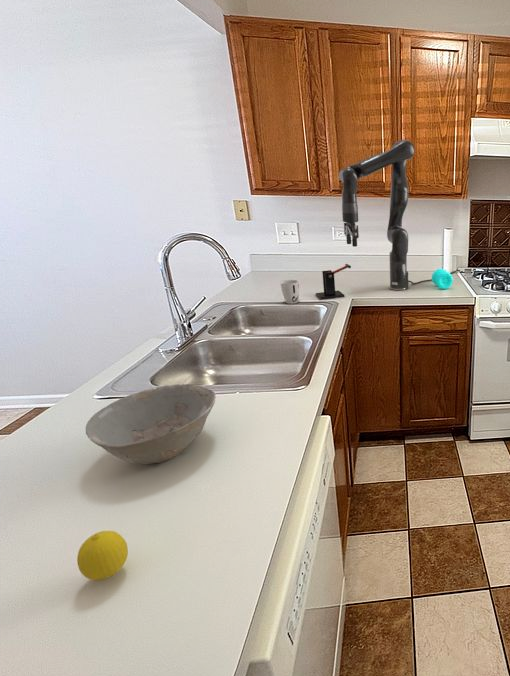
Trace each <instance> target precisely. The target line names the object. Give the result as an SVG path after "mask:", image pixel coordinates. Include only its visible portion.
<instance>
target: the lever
mask: <svg viewBox="0 0 510 676" xmlns="http://www.w3.org/2000/svg"><path fill="white" fill-rule="evenodd" d="M346 269H352V265H350V264H348V263H345V264H344V266H342V267H340V268H338V269H335V270H333V271H332V272H334V275H335V274H337V273H340V272H341V271H343V270H346Z"/></svg>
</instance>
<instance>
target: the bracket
mask: <svg viewBox="0 0 510 676" xmlns="http://www.w3.org/2000/svg"><path fill="white" fill-rule="evenodd" d="M321 272H322V285H323V291H322V292H321V291H320V292H315V296H316V298H318V299H319V300H320V301H324V300H331V299H340V298H345V294H344V293H343V292H341V291H340V290H336V281H335V280H336V279H335V274H334V272H333V271H332V269H331V270H330V269H329V270H322V271H321Z"/></svg>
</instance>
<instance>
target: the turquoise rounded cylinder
mask: <svg viewBox="0 0 510 676" xmlns="http://www.w3.org/2000/svg"><path fill="white" fill-rule="evenodd" d="M450 273H451V272H448V271H447V270H446V269H444V268H437V269H436V270H434V271H433V273H432V275H431V279H432V281H431V282H432V283H433V284H434V285H435V286H437V288H439V289H441V290H447V289H449V288H450V287H451V286H452V285H453V282H454V277H453V275H452V273H451V274H450Z"/></svg>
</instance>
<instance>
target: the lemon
mask: <svg viewBox="0 0 510 676" xmlns="http://www.w3.org/2000/svg"><path fill="white" fill-rule="evenodd" d="M128 548H129V547H128V543H127V542H126V539H125V538H124V537H123V535H121V534H120V532H119V533H118V532H116V531H114V530H102V531H99V532H96V533H94V534H92V535H91V536H89V537H88V538H86V540H85V541H84V542H83V543H82V544H81V545H80V547H79V549H78V552H77V557H76V560H77V561H76V562H77V566H78V567H77V568H78V570H79V572H80V573H81V575H82V576H84V577H85V578H86V579H88V580H92V581H101V580H105V579H108V578H110V577H112V576H114V575H115V574H117V573H118V572H119V571H120V570H121V569H122V568H123V566H124V565H125V563H126V562H127V558H128V555H129V550H128Z"/></svg>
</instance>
